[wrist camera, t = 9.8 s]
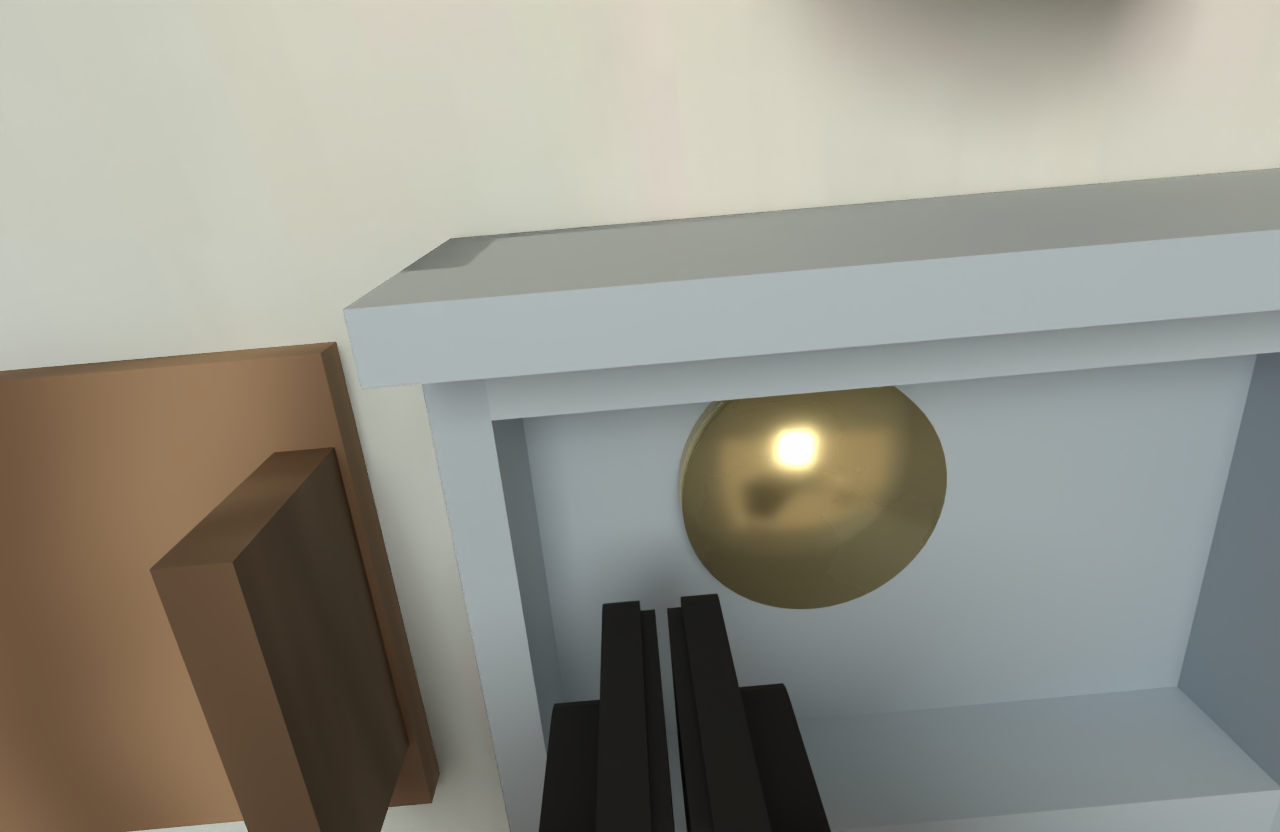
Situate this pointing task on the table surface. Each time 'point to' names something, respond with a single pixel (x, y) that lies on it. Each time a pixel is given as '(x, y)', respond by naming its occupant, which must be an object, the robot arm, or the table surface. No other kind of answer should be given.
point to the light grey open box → (974, 502)
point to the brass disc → (811, 493)
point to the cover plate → (198, 602)
